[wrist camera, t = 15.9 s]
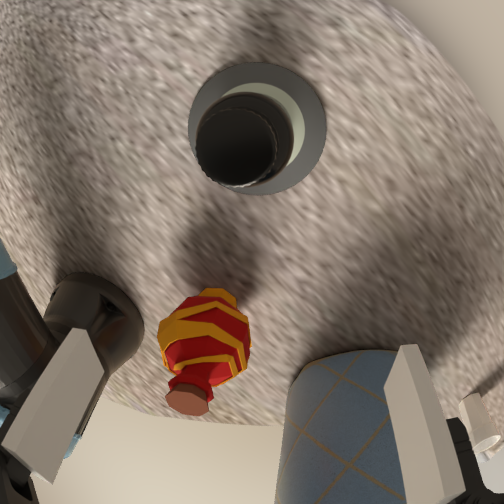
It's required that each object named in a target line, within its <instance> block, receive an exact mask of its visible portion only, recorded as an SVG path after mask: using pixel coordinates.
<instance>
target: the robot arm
mask: <svg viewBox="0 0 504 504" xmlns="http://www.w3.org/2000/svg"><path fill="white" fill-rule="evenodd" d="M17 269H18V268H17V266H16V264H15V263H14V262H13V261H12V260H11V258H10V256H9V254H8V252H7V250H6V248H5V246H4V244H3V242H2V240H1V238H0V504H39V502H38V498H37V495H36V491H35V488H34V484H33V481H32V479H31V477H30V474H31V472H32V473H33V474H34V475H35V476H37V477H38V478H40V479H41V480H44V481H46V482H48V483H50V484H53V482H54V480H55V477H56V475H57V473H58V470H59V468H60V465H61V463H62V461H63V459H65V458H67V457H69V456H70V455H71V453H72V452H73V450H74V448H75V446H76V444H77V442H78V441H79V440H80V439H81V437H82V434H83V432H84V430H85V428H86V425H87V423H88V421H89V419H90V417H91V414H92V412H93V410H94V408H95V406H96V404H97V402H98V400H99V397H100V395H101V393H102V391H103V389H104V387H105V385H106V383H107V381H108V379H109V377H110V376H111V375H112V374H113V373H114V372H115V371H116V370H117V369H118V368H120V367H121V366H122V365H123V364H124V363H125V362H126V361H127V360H129V359H130V358H131V357H133V356H134V355H135V353H136V352H137V350H138V348H139V346H140V344H141V342H142V340H143V337H144V326H143V322H142V319H141V316H140V314H139V312H138V310H137V309H136V307H135V306H134V304H133V303H132V302H131V300H130V299H129V298H128V297H127V296H126V295H125V294H124V293H123V292H122V291H121V290H120V289H119V288H117V287H116V286H115V285H113V284H112V283H110V282H109V281H107V280H105V279H103V278H101V277H99V276H96V275H93V274H89V273H73V274H70V275H68V276H66V277H65V278H64V279H63V280H62V281H61V282H60V283H59V284H58V285H57V286H56V287H55V289H54V290H53V292H52V295H51V298H50V302H49V304H48V306H47V309H46V311H45V314H44V317H43V318H42V316H41V315H40V313H39V311H38V309H37V308H36V306H35V304H34V302H33V300H32V299H31V297H30V295H29V293H28V291H27V289H26V287H25V286H24V284H23V282H22V280H21V278H20V276H19V274H18V272H17ZM384 392H385V396H386V400H387V404H388V408H389V413H390V417H391V421H392V426H393V430H394V435H395V440H396V445H397V450H398V455H399V460H400V465H401V471H402V476H403V482H404V488H405V494H406V501H407V504H504V493H500V494H498V493H493V492H492V491H491V490H489V489H487V488H486V487H485V485H484V483H483V481H482V477H481V474H480V471H479V467H478V463H477V460H476V457H475V454H474V450H472V448H473V447H472V444H471V441H469V439H470V438H469V435H468V432H467V429H466V427H465V426H464V424H463V423H462V422H461V421H460V420H459V418H458V417H456V418H451V419H445V416H444V413H443V410H442V407H441V404H440V402H439V399H438V396H437V393H436V391H435V388H434V385H433V382H432V380H431V377H430V375H429V372H428V369H427V367H426V364H425V362H424V359H423V357H422V354H421V352H420V349H419V347H418V345H417V344H410V345H401V346H400V348H399V351H398V354H397V356H396V359H395V361H394V364H393V366H392V369H391V371H390V374H389V376H388V378H387V381H386V383H385V385H384Z"/></svg>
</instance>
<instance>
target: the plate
mask: <svg viewBox="0 0 504 504" xmlns="http://www.w3.org/2000/svg"><path fill="white" fill-rule="evenodd" d="M236 92H255V93H261V94H266V95H268V96H271V97H273V98H275V99H276V100H278V101H279V102H280V103H281V104H282V105H283V106H284V107H285V108H286V110H287V111H288V113H289V115H290V117H291V120H292V124H293V131H294V147H293V152H292V155H291V158H290V160H289V162H288V164H287V165H286V167H285V168H284V170H283V171H282V172H281V173H280V174H279V175H278V176H276V177H275V178H274V179H272V180H271V181H269V182H267V183H265V184H262V185H259V186H255V187H243V188H241V187H237V188H233V187H226V186H225V185H222V186H224V187H226V188H228V189H230V190H233V191H235V192H239V193H243V194H249V195H268V194H273V193H277V192H281V191H283V190H286V189H288V188H290V187H292V186H294V185H296V184H297V183H298V182H300V181H301V180H302V179H304V178H305V177H306V176H307V175H308V174H309V173H310V172H311V170H312V169H313V168H314V167H315V165H316V163H317V162H318V160H319V158H320V156H321V154H322V151H323V148H324V145H325V139H326V120H325V115H324V111H323V108H322V105H321V103H320V101H319V99H318V97H317V96H316V94H315V92H314V91H313V90H312V88H311V87H310V86H309V85H308V84H307V83H306V82H305V81H304V80H303V79H302V78H300V77H299V76H298V75H296V74H295V73H293V72H291V71H289V70H288V69H285V68H283V67H280V66H278V65H273V64H269V63H261V62H253V63H244V64H239V65H236V66H232V67H230V68H228V69H225V70H223V71H222V72H220V73H218V74H217V75H215V76H214V77H213V78H212V79H210V80H209V81H208V82H207V83H206V84H205V85H204V86H203V87H202V89H201V90H200V92H199V93H198V95H197V96H196V98H195V100H194V102H193V105H192V108H191V110H190V115H189V120H188V136H189V141H190V146H191V148H192V151H193V154H194V156H195V158H196V160H197V162H198V158H197V157H196V150H195V147H196V142H195V135H196V129H197V125H198V123H199V120H200V118H201V116H202V115H203V113H204V112H205V110H206V109H207V108H208V107H209V106H210V105H211V104H212V103H213V102H215V101H216V100H218V99H219V98H221V97H223V96H225V95H228V94H231V93H236ZM217 183H218V182H217Z"/></svg>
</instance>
